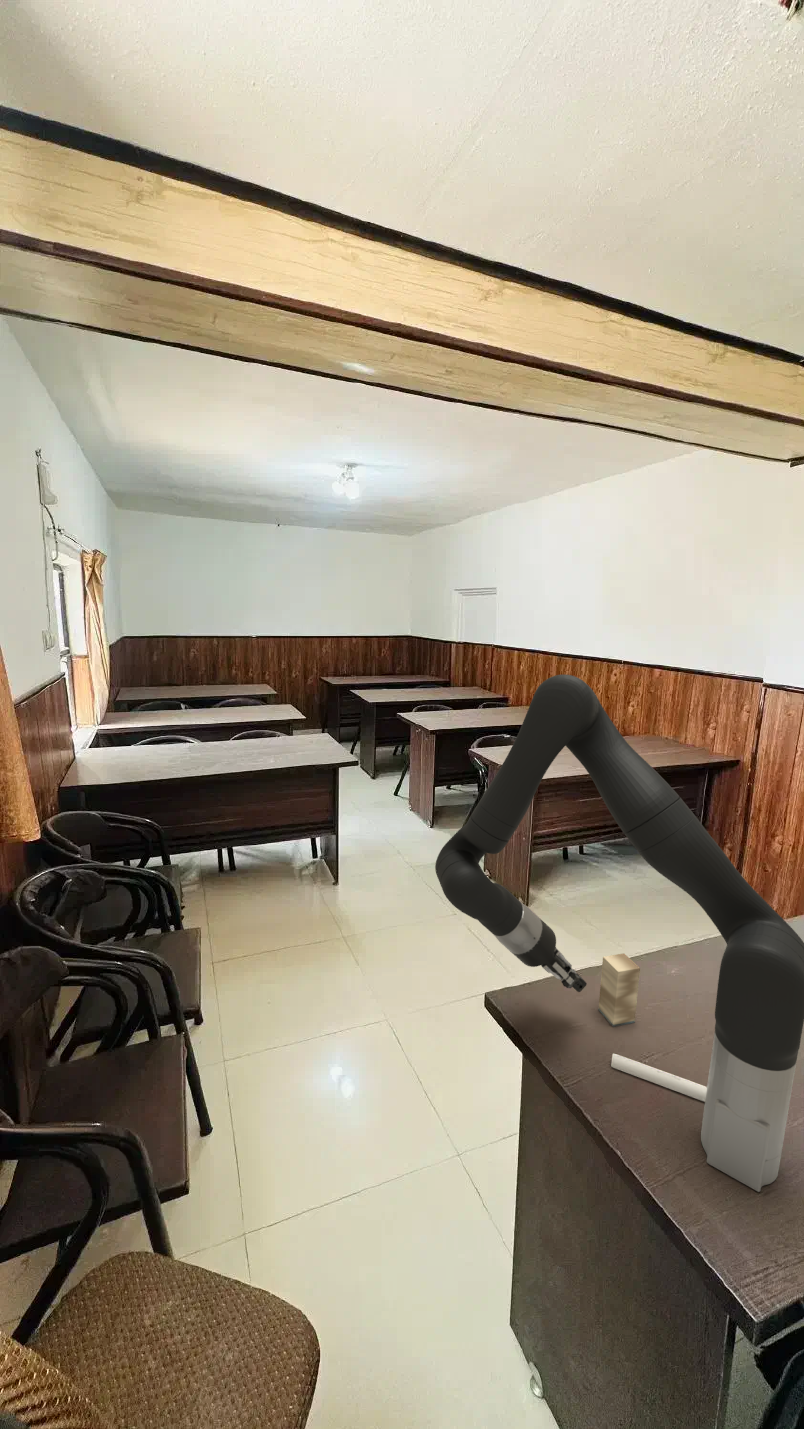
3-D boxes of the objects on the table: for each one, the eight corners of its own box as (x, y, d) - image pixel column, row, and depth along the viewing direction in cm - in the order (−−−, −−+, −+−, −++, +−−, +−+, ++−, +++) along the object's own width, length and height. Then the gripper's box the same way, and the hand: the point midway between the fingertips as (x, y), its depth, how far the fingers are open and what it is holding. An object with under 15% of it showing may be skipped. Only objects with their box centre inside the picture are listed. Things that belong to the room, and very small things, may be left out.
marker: (737, 1107, 84) (739, 1094, 83) (738, 1118, 82) (740, 1104, 82) (612, 1061, 92) (613, 1048, 92) (610, 1069, 90) (611, 1057, 90)
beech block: (613, 1026, 100) (618, 971, 98) (598, 1009, 104) (603, 956, 102) (634, 1022, 101) (640, 968, 99) (619, 1005, 105) (624, 953, 103)
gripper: (557, 937, 88) (618, 994, 93) (519, 896, 100) (575, 948, 105) (525, 972, 87) (588, 1028, 92) (491, 927, 100) (548, 978, 105)
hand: (581, 985), depth 99 cm, fingers closed
